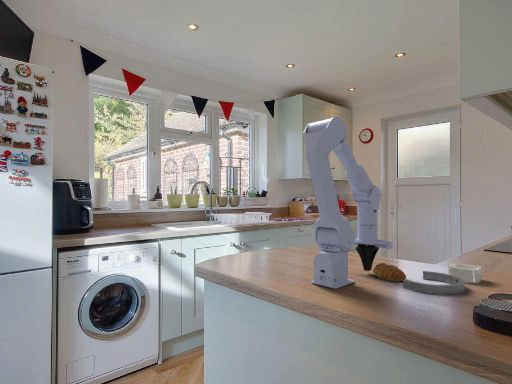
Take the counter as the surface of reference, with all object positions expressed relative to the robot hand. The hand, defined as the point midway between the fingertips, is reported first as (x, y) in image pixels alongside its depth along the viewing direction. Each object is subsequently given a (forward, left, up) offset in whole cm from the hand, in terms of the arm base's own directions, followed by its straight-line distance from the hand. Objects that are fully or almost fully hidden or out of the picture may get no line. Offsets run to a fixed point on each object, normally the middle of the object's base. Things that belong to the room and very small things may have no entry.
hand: (367, 270), depth 97 cm
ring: (0, -19, -1) cm, 19 cm away
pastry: (+1, -6, -2) cm, 7 cm away
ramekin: (+13, -22, -1) cm, 26 cm away
